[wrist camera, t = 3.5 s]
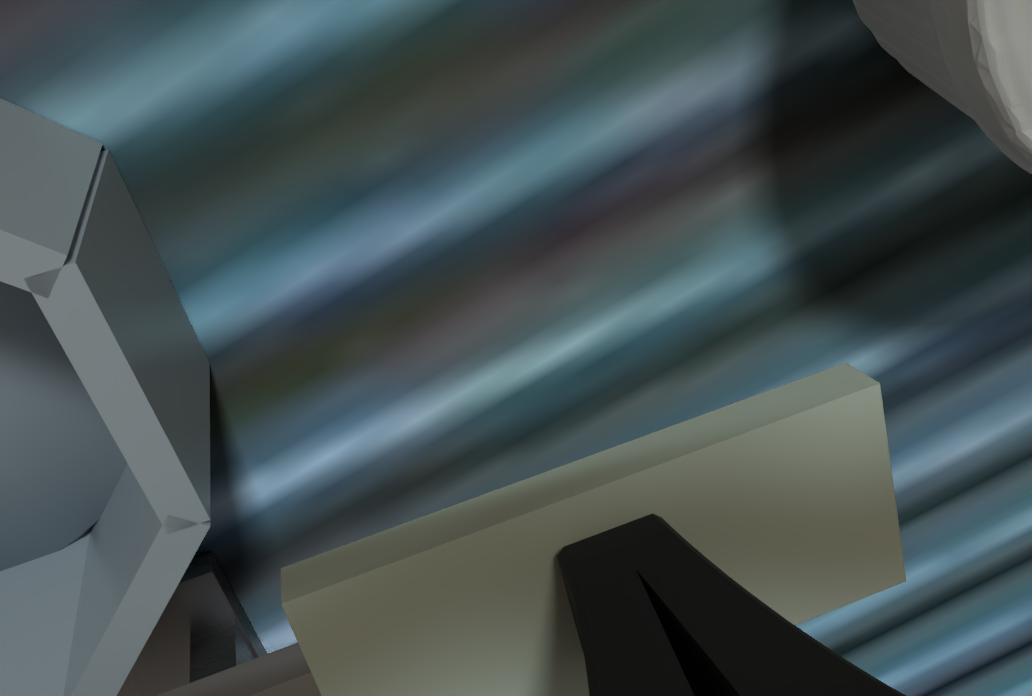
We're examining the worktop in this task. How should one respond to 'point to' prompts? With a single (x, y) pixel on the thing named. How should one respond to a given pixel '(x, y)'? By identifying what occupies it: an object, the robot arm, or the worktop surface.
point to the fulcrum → (194, 634)
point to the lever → (584, 513)
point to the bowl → (89, 419)
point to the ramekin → (966, 59)
